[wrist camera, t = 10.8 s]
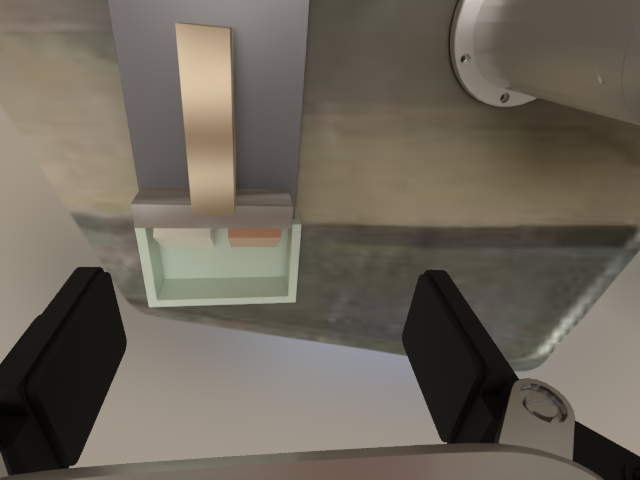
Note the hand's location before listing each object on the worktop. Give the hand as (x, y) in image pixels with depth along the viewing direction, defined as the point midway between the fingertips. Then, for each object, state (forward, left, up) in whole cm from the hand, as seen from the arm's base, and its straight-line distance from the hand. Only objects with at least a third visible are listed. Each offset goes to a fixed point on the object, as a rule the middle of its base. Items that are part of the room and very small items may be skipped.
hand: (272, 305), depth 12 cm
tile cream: (+9, -6, -22) cm, 24 cm away
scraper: (0, -3, -21) cm, 21 cm away
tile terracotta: (+9, 0, -22) cm, 23 cm away
